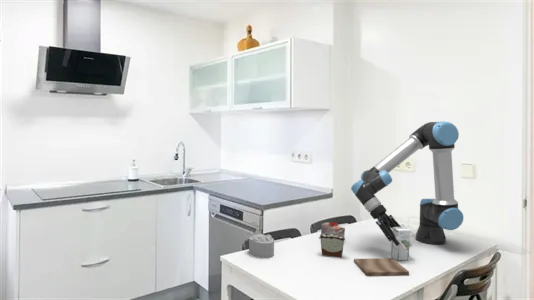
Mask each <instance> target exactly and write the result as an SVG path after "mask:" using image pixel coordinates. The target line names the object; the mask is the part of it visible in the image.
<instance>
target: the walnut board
mask: <svg viewBox="0 0 534 300" xmlns="http://www.w3.org/2000/svg"><path fill="white" fill-rule="evenodd" d="M353 263H354V264H355V265H356V266H357V267H358V269H360V271H361V272H362V273H363V274H364V275H365V276H366V277H380V276H381V277H383V276H385V277H389V276H392V277H393V276H410V271H409V270H408V269H407V268H405V267H404V266H403V265H402V264H400V263H399V262H398V261H397V260H395V259H394V258H392V257H387V258H386V257H385V258H384V257H381V258H377V257H375V258H374V257H373V258H353Z"/></svg>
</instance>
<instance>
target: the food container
mask: <svg viewBox="0 0 534 300" xmlns="http://www.w3.org/2000/svg"><path fill="white" fill-rule="evenodd" d="M318 239H319V240H320V247H321V248H320V249H321V250H320V251H321V256H323V257H331V258H337V259H342V258H343V251H344V244H345V241H346V238H345V235H342V234H338V233H322V234H321V233H320V234H319V237H318Z"/></svg>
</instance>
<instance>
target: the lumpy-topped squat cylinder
mask: <svg viewBox="0 0 534 300" xmlns="http://www.w3.org/2000/svg"><path fill="white" fill-rule="evenodd" d="M248 253H249V254H250V255H251V256H253V257H254V258H255V257H256V258H260V259H271V258H273V257H274V256H275V239H274V238H273V237H272V235H271V234H263V233H259V234H254V235H252V236H249V237H248Z"/></svg>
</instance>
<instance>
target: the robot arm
mask: <svg viewBox="0 0 534 300" xmlns="http://www.w3.org/2000/svg"><path fill="white" fill-rule="evenodd" d="M459 135H460V133H459V130H458V128H457V126H456V125H455V124H453V122H450V121H443V120H442V121H430V122H426V123H424V124H422V125H421V126H419V127H418V128H417V129H416V130H415V131H413V132H412V133H411V134H409V135H408V136H409V137H408V139H407V140H405V141H404V142H403V143H402V144H400V145H399V146H398V147H396V148H395V149H394V150H393V151H391V152H390V153H389V154H387V156H385V157H384V158H383V159H381V160H380V161H379V162H377V163H376V164H375V165H374V166H372V167H371V168H370V169H367V170H364V171H363V172H362V173H361V175H360V179H359V180H358V181H355V182H354V183H353V184H352V186H351V188H350V189H351V191H352V193H353V194H354V196H355V197H356V198H357V199H358V200H359V202H360V203H361V204H362V205H363V207H364V209H365V210H366V211H367V212H368V213H369V215H370V216H371V217H372V218H373V220H377V221H375V224H376V225H377V226H378V227H379V229H380V230H381V232H382V233H383V234H384V236H385V237H386V238H387V240H388V241H389V242H392V241H393V242H394V244H395V245H396V246H397V247H398V249H399V250H400V251H401V252H403V251H405V250H406V248H405V246H404V245H403V244H402V243H401V241H400V240H399V239H398V238H397V237H396V238H395V235H394V233H393V231H392V228H393V227H402V226H401V225H400V224H399V222H398V221H397V220H396V219H395V218H394V217H393V216H392V214H389V215H388V214H387V208H386V207H385V206H384V205H383V204H382V202H381V201H380V200H379V199H378V197H377V196H376V194H377V193H379V191H381V190H383V189H385V188H386V187H387V186H389V185H390V184H391V183H392V182H393V178H392V175H391V174H390V172H392V171H393V170H394V169H395V168H397V167H399V166H400V165H401V164H402V163H403V162H405V160H407V159H409V157H411V156H412V155H413V154H415V153H416V152H417V151H418V150H423V149H424V148H425V147H427V146H428V150H430V152H431V153H432V162H433V163H432V165H433V166H432V167H433V179H434V180H433V182H434V195H435V197H434V198H422V199H420V203H419V225H418V229H417V230H416V233H415V240H416V241H418V242H419V243H424V244H426V245H427V244H429V245H444V244H446V243H447V237H446V234H445V231H444V230H447V231H455V230H457V229H458V228H459V227H460V226H461V225H462V224H463V222H464V214H463V212H462V210H460V209H459V201H458V200H456V199H455V190H454V172H453V156H452V152H453V150H454V149H455V148H456V147H455V146H456V145H455V143H456V142H457V141H458V139H459ZM413 246H414V243H412V242H411V239H410V240H409V249H410V248H411V247H413Z"/></svg>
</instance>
